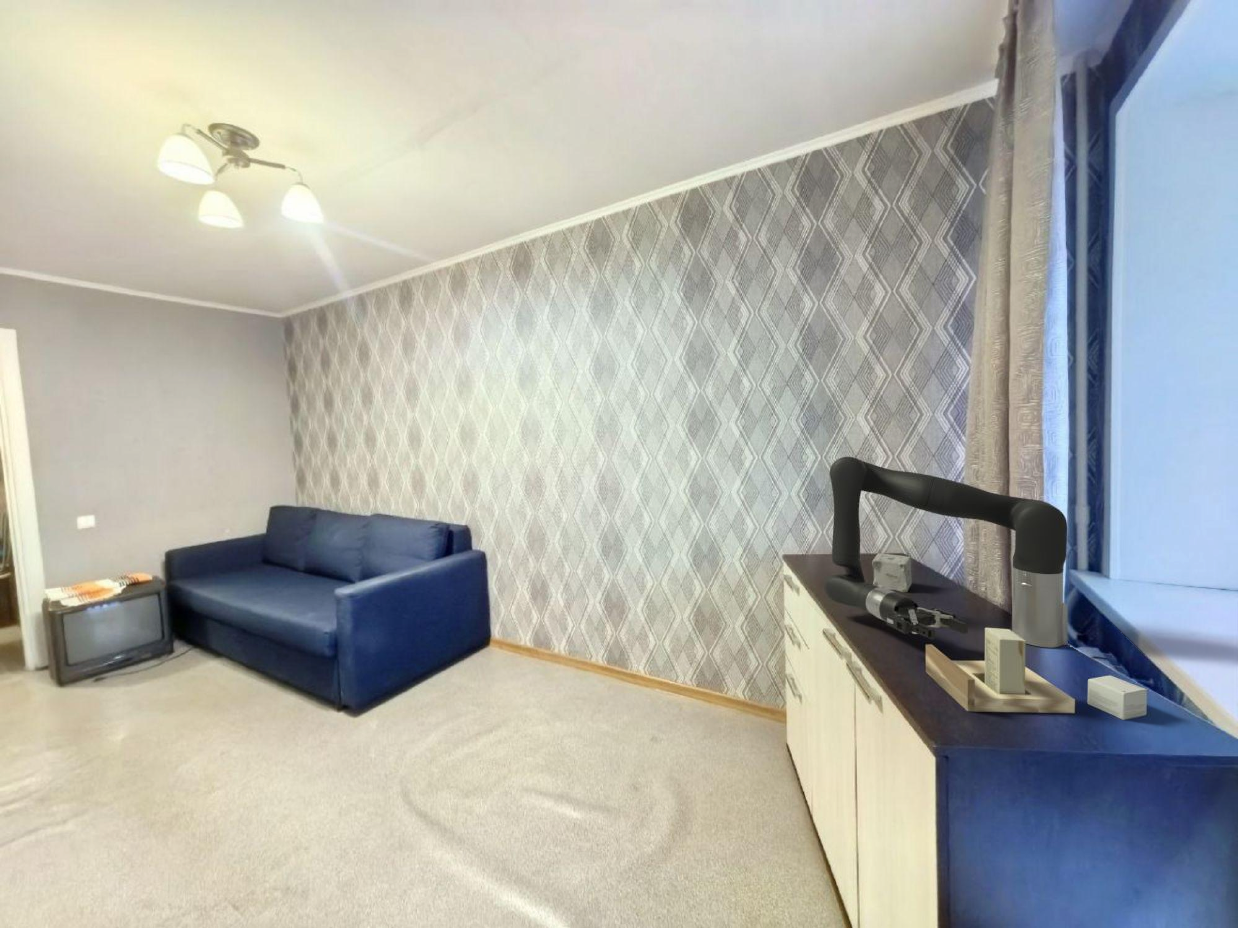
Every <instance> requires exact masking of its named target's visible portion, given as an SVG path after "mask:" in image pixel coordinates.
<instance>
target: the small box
mask: <svg viewBox="0 0 1238 928" xmlns="http://www.w3.org/2000/svg"><path fill="white" fill-rule="evenodd" d="M1147 691H1148V689H1147V688H1144V687H1142V686H1139V685H1136V684H1133V683H1131V682H1128V681H1125V680H1124V679H1121V678H1118V677H1115V676H1113V675H1105V676H1104V675H1103V676H1100V677H1092V678H1089V679H1088V680H1087V703H1086V704H1088V705H1089V706H1091V707H1094V708H1096V709H1099V710H1100V711H1103V712H1105V713H1107V714H1110V715H1112V716H1114V717H1116V718H1118V719H1120V720H1122V721H1125V720H1130V719H1135V718H1139V717H1143V716H1146V715H1147V705H1148V704H1147V701H1148V699H1147V698H1148V695H1147V694H1148V693H1147Z"/></svg>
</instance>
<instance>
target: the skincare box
mask: <svg viewBox="0 0 1238 928" xmlns="http://www.w3.org/2000/svg"><path fill="white" fill-rule="evenodd" d="M1026 644H1027V643H1026V641H1025V640H1024V639H1022V638H1021V637H1020V636H1018V635H1017V634H1015V633H1014V632H1013V631H1012V629H1010V628H1009V629H1008V628H997V627H985V628H984V661H985V685H987V686H988V687H989V688H990V689H992V690H993V691H994V692H995V693H997V694H1017V695H1025V667H1026Z"/></svg>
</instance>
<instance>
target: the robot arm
mask: <svg viewBox="0 0 1238 928" xmlns="http://www.w3.org/2000/svg"><path fill="white" fill-rule="evenodd" d="M829 477H830V482H831V490H832V495H833V523H832V524H833V526H832V527H833V528H832V540H831V541H832V543H831V544H832V545H831V546H832V547H831V548H832V549H831V560H832V563H833V564H834V565H835V566H838V567H843V569H844V572H845V573H844V574H832V575H829V576H828V577H826V579H825V581H824V584H823V588H824V591H825V594H826V595H827V597H829V599H831V600H832V601H834V602H836V603H837V604H842V605H845V606H849V607H853V608H854V607H855V608H859V609H861V610H862V611H864V612H866V613H869V614H871V615H873V616H874V617H876V619H877V618H878V619H880V620H882V621H884V622H886V625H887V626H889V627H891V628H892V629H894V630H897V631H899V633H902V634H906V635H909V633H912V634H914V635H920V636H921V637H924V638H927V639H929V640H935V639H936V630H935V629H934V628H936V629H940V627H941V628H947V629H951V630H952V631H956V632H958V633H960V634H963V635H966V634H968V632H969V631H968V629H969V628H968V627H969V626H968V624H967V623H965V622H963V621H960V620H958V615H957V613H954V612H951V611H948V610H945V609H943V608H940V607H936V606H931V610H930V609H927V608H924V607H920V606H919V605H918V603H917V602H916V601H915V600H914V598H911V597H909V596H906V595H903V594H901V593H898V592H896V591H894V590H890V589H883V588H880V587H878V586H875V585H873V583H869V582H866V579H865V576H864V571H863V567H862V563H861V560H860V559H861V528H860V527H861V526H860V501H861V500H860V499H861V494H862V492H866V493H871V494H872V493H873V494H875V495H876V494H877V495H880V496H884V497H887V498H889V499H891V500H893V501H897V502H899V503H900V504H901V503H902V504H904V505H906V506H909V507H912V508H915V509H918V510H921V511H924V512H928V513H932V514H935V515H940V516H946V517H951V518H957V519H958V518H960V519H969V520H978V521H984V522H987V523H992V524H995V525H997V526H1001V527H1003V528H1006V529H1009V530H1012V531H1015V532H1014V533H1015V537H1014V538H1015V539H1014V552H1013V556H1012V587H1011V588H1012V596H1011V597H1012V600H1011V601H1012V602H1011V603H1012V604H1011V605H1012V606H1011V607H1012V608H1011V609H1012V610H1011V612H1012V614H1011V631H1013V632H1014V633H1015V634H1017V635H1018V636H1020V637H1021V638H1022V639H1024V640H1025V641H1026V643H1025V644H1026V645H1027V644H1028V645H1031V646H1034V647H1042V648H1059V647H1062V646H1067V645H1068V619H1069V617H1068V615H1069V613H1068V612H1069V611H1068V610H1069V609H1068V607H1069V606H1068V604H1067V603H1065V602H1064V568H1065V567H1064V566H1065V563H1066V560H1067V552H1068V551H1067V548H1068V521H1067V519H1066V516H1065V514H1064V513H1063V512H1062V511H1061V510H1060V509H1058V507H1056V506H1054V505H1052V504H1051V503H1049V502H1046V501H1043V500H1039V499H1032V498H1031V499H1030V498H1025V497H1016V496H1012V495H1005V494H1001V493H999V494H998V493H995V492H991V491H987V490H984V489H982V488H978V487H975V486H972V485H969V484H965V483H963V482H958V481H955V480H951V479H947V478H943V477H939V476H936V475H935V476H934V475H931V474H924V473H919V472H912V471H906V470H905V471H901V470H895V469H890V468H885V467H882V466H879V465H875V464H873V463H869V462H866V461H864V460H862V459H860V458H857V457H853V456H842V457H840V458H838V459H836V460H834V462H833V463H832V465H831V466H830V469H829ZM933 620H935V622H933Z"/></svg>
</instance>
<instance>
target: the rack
mask: <svg viewBox="0 0 1238 928" xmlns="http://www.w3.org/2000/svg"><path fill="white" fill-rule="evenodd" d="M925 673H926V674H927V675H929V677H930V678H931V679H933V680H934V681H935V682H936V683H937V684H938V685H939V686H940V687H941V688H942V689H943V690H944V691H945V692H946V693H947V694H948V695H949V696H951V698H952V699H954V700H955V701H956V702H957V703H958V704H959V705H960V706H961V707H962V708H963V709H965V711H967V712H986V713H987V712H988V713H989V712H991V713H1043V714H1045V713H1046V714H1048V713H1049V714H1050V713H1053V714H1054V713H1055V714H1057V713H1058V714H1075V710H1076V708H1075V707H1076V699H1075V698H1073V697H1072V696H1070V695H1069V694H1068V693H1066V692H1064V691H1063V690H1061V689H1060V688H1058V686H1055V685H1054V684H1053V683H1052V682H1051V683H1050V682H1049V681H1048V680H1046V679H1045V678H1043V677H1042V676H1040V675H1039V674H1037V673H1036V672H1034V671H1033V670H1031V669H1029V668H1028V667H1027V666H1025V695H1017V694H997V693H995V692H994V691H993V690H992V689H990V688H989V687H988V686H987V685H985V660H951V659H950V658H949V657H948V656H946V655H945V654H944V653H943V652H941V651H940V650H939V649H938V648H937V647H936V646H934V644H925Z"/></svg>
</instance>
